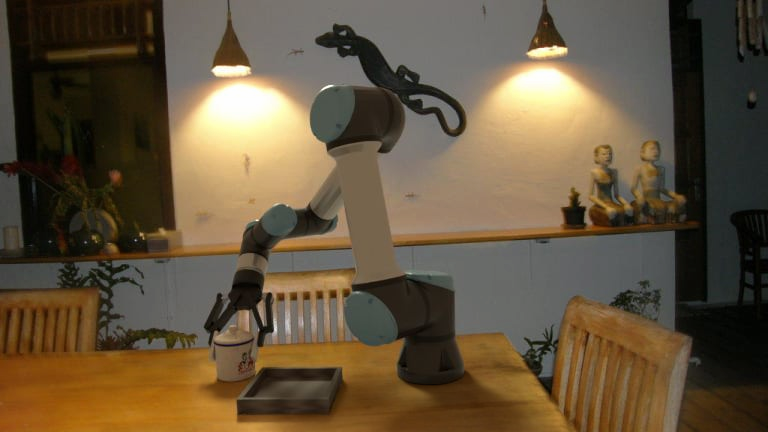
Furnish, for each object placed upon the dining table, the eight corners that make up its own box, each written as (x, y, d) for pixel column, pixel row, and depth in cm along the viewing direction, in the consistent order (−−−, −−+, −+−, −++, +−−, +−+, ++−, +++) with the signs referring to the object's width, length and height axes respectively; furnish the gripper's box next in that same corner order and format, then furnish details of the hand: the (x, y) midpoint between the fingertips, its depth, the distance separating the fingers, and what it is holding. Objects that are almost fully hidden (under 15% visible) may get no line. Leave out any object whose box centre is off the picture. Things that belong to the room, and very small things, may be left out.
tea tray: (342, 379, 135) (342, 366, 135) (328, 414, 117) (328, 399, 117) (263, 380, 137) (262, 367, 136) (237, 414, 119) (236, 399, 118)
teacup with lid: (245, 383, 135) (241, 332, 134) (208, 381, 137) (204, 330, 136) (268, 365, 146) (265, 317, 145) (234, 363, 149) (231, 316, 148)
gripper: (295, 283, 154) (283, 366, 140) (212, 284, 156) (191, 366, 142) (289, 266, 149) (275, 351, 134) (203, 268, 150) (180, 352, 136)
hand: (232, 359), depth 138 cm, fingers closed on teacup with lid, 9 cm apart
